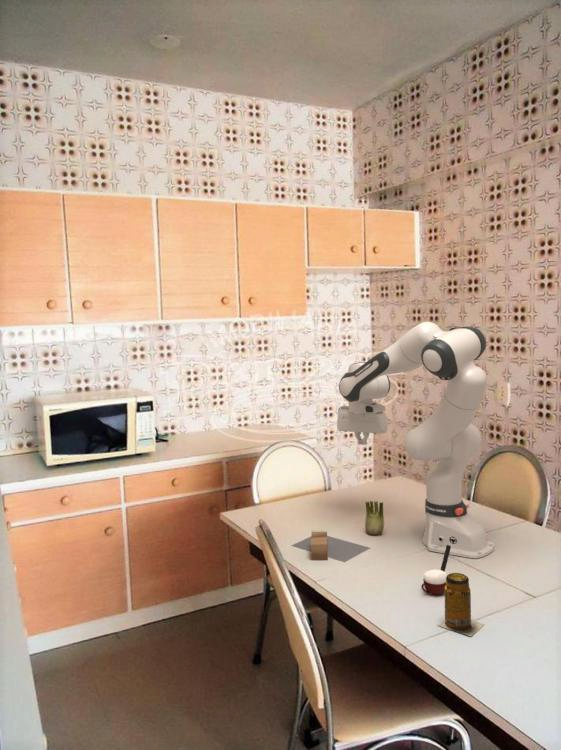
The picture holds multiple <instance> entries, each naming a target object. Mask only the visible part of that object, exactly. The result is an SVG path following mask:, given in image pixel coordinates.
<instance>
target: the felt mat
mask: <svg viewBox="0 0 561 750" xmlns="http://www.w3.org/2000/svg"><path fill="white" fill-rule="evenodd" d="M291 547H294V548H297V549H300V550H304V551H306V552H310V553H311V536H309V537H307V538H304V539H303V540H300V541H298V542H296V543H293V544H291ZM327 547H328V558H330V559H332V560H336V561H339V562H343V563H346V562H348V561H349V560H352V559H353V558H355V557H357V556H358V555H360V554H362V553H365V552H366V551H368V550H369V549H371V547H369V546H365V545H362V544H359V543H354V542H350V541H347V540H344V539H340V538H338V537H337V538H336V537H334V536H333V537H332V536H329V535H327Z"/></svg>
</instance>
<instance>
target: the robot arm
mask: <svg viewBox="0 0 561 750" xmlns="http://www.w3.org/2000/svg"><path fill="white" fill-rule="evenodd" d="M485 337H486V336H485V335H484V333H483V332H482V330H480V329H479V328H477V327H474V326H461V327H451V328H450V329H449V330H448V331H446V330H445V331H444V330H442V329H441V327H439V325H438V324H436V323H434V322H431V321H423V322H421V323H419V324H417V325H415V326H414V327H412V328H410V329H409V330H408V331H407V332H405V333H404V334H403V335H402V336H401V337H400V338H399V339H397V340H396V341H395V342H394V343H393V344H391V345H390V346H388V347H387V348H385V349H384V350H382V351H380V352H379V353H377V354H376V355H374V356H373V357H371V358H370V359H368V360H367V361H359V362H354V363H351V364H350V365H349V366H348V370H347V372H346V373H345V374H344V375H343V376H342V377H341V378H340V381H339V383H338V390H339V393H340V395H341V396H342V397H343V398H344V399H345V400H346V401H347V402H348V405H347V406H344V405H342V406H340V407H339V408H338V409H337V421H336V429H337V430H338V432H349V433H350V432H352V433H354V437H355V439H356V440H357V445H360V446H361V445H363V446H366V445H367V444H368V439H369V436H370V434H379V435H380V434H382V435H383V434H385V433H387V431H388V417H387V414H386V413H385V411H386V406H385V405H383V404H381V403H379V402H376V401H374V400H376V399H382V398H385V397H387V396H388V395H389V392H390V390H391V379H390V378H389V376H388V375H391V374H399V373H407V372H409V373H410V372H412V371H414V370H417V369H419V368H420V367H422V366H424V368H425V369H426V370H427V371H428V372H429V373H430V374H432V375H434V376H435V377H437V378H438V379H439V380H442V381H447V385H446V387H445V389H444V391H443V393H442V396H441V399H440V400H439V402H438V405H437V407H436V408H435V409H434V411H433V412H432V413H431V414H430V416H428V417H427V418H426V419H425V420H424V421H423V422H422V423H421V424H420V425H418V426H417V427H414V428H412V429H411V430H409V431H408V432H407V433H406V436H405V439H404V447H405V448H404V449H405V451H406V453H407V455H408V456H409V457H410V458H411V459H412V460H415V461H423V462H424V461H425V462H429V461H438V463H437V464H436V466H435V467H434V468H433V469H432V470H430V471H429V472H428V474H427V476H426V478H425V479H426V480H425V482H426V483H425V486H426V487H425V489H426V491H425V492H426V494H425V495H426V498H425V500H424V503H425V504H424V509H425V517H426V518H425V526H424V533H423V536H422V543H423V545H425V546H426V547H427V550H428V551H429V552H433V553H434V552H435V553H441V554H445V550H446V546H447V545H449V546H451V549H450V553H449V555H451V556H452V555H453V556H458V557H463V558H464V557H465V558H469V559H480V558H484V557H486V556H488V555H490V554H491V553H492V552H493V551H494V550H495V543H494V542H493V541H490V540H488V537H487V532H486V529H485V527H484V526H483V525H482V524H480V523H479V522H478V521H477V520H476V519H475V518H474V517H473V516H471V515H470V514H469V513H468V509H469V508H470V503H467V504H465V503H464V500H463V498H462V493H463V489H462V487H463V478H464V477H463V476H464V473H465V469H467V468H466V467H467V465H468V463H469V461H470V460H471V458H472V457H473V456H474V455H475V454H476V453H477V452H478V451H479V450H480V448H481V445H482V435H481V432H480V430H479V429H478V427H477V426H476V425H474V424H472V423H473V421H474V418H475V417H476V415H477V413H478V410H479V407H480V406H481V404H482V402H483V398H484V395H485V392H486V388H487V383H488V376H487V373H486V372H485V371H484V369H482V368H481V367H480V366H478V365H476V364H475V363H474V361H476V360H477V359H479V358H480V357H481V356H482V355H483V354H484V353H485V351H486V349H487V341H486V338H485ZM361 433H362V436H363V438H362V437H361Z"/></svg>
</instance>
